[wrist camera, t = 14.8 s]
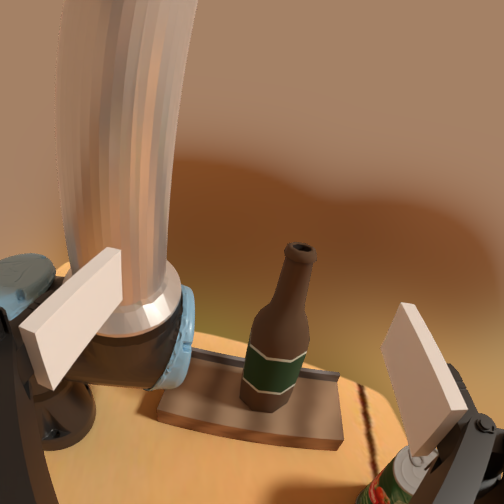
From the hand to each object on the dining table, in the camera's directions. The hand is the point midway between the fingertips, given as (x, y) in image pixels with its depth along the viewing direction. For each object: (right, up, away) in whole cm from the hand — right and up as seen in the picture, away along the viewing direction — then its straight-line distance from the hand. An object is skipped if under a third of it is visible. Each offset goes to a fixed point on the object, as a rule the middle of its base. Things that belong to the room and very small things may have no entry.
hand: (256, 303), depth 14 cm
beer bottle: (+1, -19, +30) cm, 36 cm away
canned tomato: (+17, -32, +16) cm, 39 cm away
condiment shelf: (0, -22, +31) cm, 38 cm away
